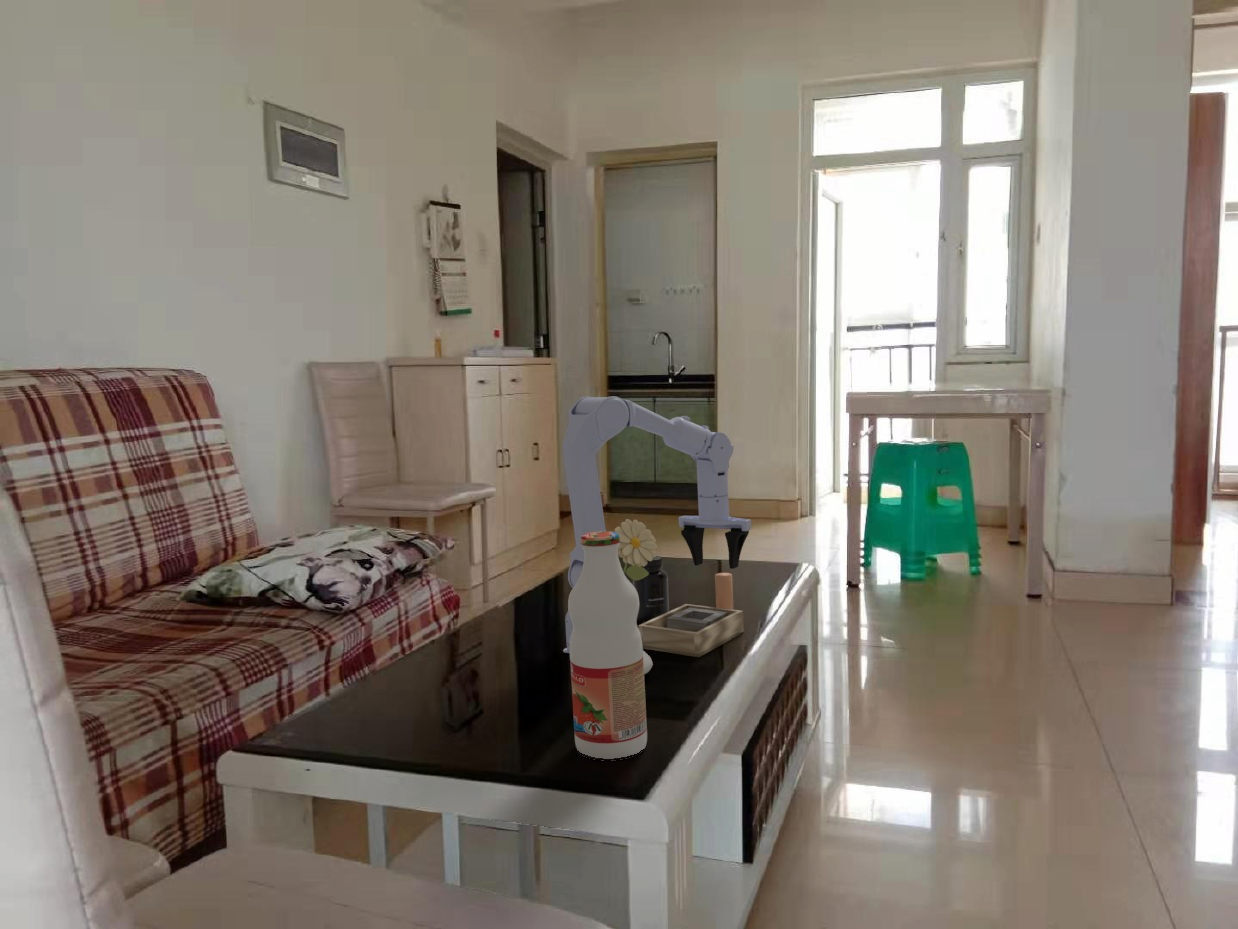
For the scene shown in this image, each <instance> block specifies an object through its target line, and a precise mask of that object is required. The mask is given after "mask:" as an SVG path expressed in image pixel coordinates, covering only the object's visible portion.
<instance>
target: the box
mask: <svg viewBox="0 0 1238 929" xmlns="http://www.w3.org/2000/svg"><path fill="white" fill-rule="evenodd" d="M637 627H638V629H639V631H640V634H641V638H642V645H643V650H644V649H645V650H651V651H657V652H662V653H663V652H664V653H671V654H676V655H681V656H689V657H695V658H700V657H702V656H704V655H706V654H708V653H710V652H711V651H713V650H715V649H716V648H718V647H720V646H722V645H724V644H725V643H728V642H730V641H731V640H733V639H735V638H736V637H738V636H740V635H741V633H742V634H744V633H745V632H744V631H745V630H744V610H739V609H733V610H732V609H724V608H716V606H707V605H700V604H699V605H696V604H691V603H689V604H688V603H684V604H682V605H680V606H678V607H676V608H674V609H672V610H669V612H667V613H665V614H663V615H660V616H658V617H656V618H654V619H652V620H649V621H647V622H642V623H641V624H639V625H638V624H637ZM743 632H744V633H743ZM732 638H733V639H732Z"/></svg>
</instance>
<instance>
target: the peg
mask: <svg viewBox="0 0 1238 929" xmlns="http://www.w3.org/2000/svg"><path fill="white" fill-rule="evenodd" d="M714 580H715V581H714V582H715V583H714V585H715V586H714V587H715V607H716V608H724V609H732V610H734V594H733V593H734V591H733V574H732V573H729V572H719V573H715V574H714Z"/></svg>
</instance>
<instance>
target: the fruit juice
mask: <svg viewBox="0 0 1238 929" xmlns="http://www.w3.org/2000/svg"><path fill="white" fill-rule="evenodd" d="M619 543H620V538H619V534H618V533H616V532H615V531H610V530H609V531H607V530H606V531H601V532H591V533H586V534H583V535H582V536H581V545H582V549H583V550H584V563H583V568H582V573H581V575H580V578H579V580H578V582H577V583H576V585H575V586H574V587H573V588H572V589H571V591H570V593H569V595H568V598H567V599H568V602H567V608H568V610H569V614H570V617H571V620H572V623H573V631H572V634H571V637H570V653H569V662H570V663H569V664H570V665H569V666H570V680H571V681H570V682H571V683H570V684H571V696H572V697H571V699H572V712H573V713H572V715H573V731H574V743H575V749H576V750H577V752H578V751H579V752H580V753H582V754H585V755H588V756H591V757H595V758H603V759H614V758H621V757H627V756H630V755H634V754H637V753H639V752H640V751H641V750H643V749H644V750H645V748H646V746H647V742H648V727H647V709H646V708H647V707H646V689H645V688H646V685H645V674H644V664H643V651H644V648H643V645H642V638H641V634H640V631H639V627H638V624H637V623H638V622H637V621H638V620H637V616H638V612H639V596H638V593H637V591H636V589H635V587H634V586H633V582H631V581H630V580H629V579H628V578H627V576H626V575H625V573H624V572H623V570H624V569H623V568H622V565H621V561H620V556H619V555H618V547H619V546H620V544H619ZM568 610H567V611H568ZM644 750H643V751H644ZM579 752H578V753H579ZM641 752H642V751H641ZM641 752H640V753H641ZM580 753H579V754H580ZM640 753H639V754H640ZM637 755H638V754H637Z"/></svg>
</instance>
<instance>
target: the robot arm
mask: <svg viewBox="0 0 1238 929" xmlns="http://www.w3.org/2000/svg"><path fill="white" fill-rule="evenodd" d="M567 411H568V412H567V416H568V425H567V428H566V431H565V434H564V437H563V438H564V439H563V442H562V454H563V460H564V461H563V463H564V469H565V474H566V475H565V476H566V482H567V489H568V498H569V503H570V511H571V518H572V523H573V524H572V525H573V533H574V540H575V547H574V549H572V550H571V552H570V553H569V560H570V562H569V568H568V571H567V580H568V583H569V585H570V587H571V588H572V589H573V587H574V586H575V585H576V583H577V582H578V580H579V578H580V575H581V573H582V568H583V563H584V550H583V549H582V545H581V536H582V535H583V534H586V533H591V532H601V531H607V530H606V523H605V516H604V509H603V507H604V506H603V501H602V493H601V487H600V477H599V473H598V472H599V471H598V464H597V458H596V455H597V453H598V452H599V451H600V449H601V448H602V447H603V446H604V444H605V443H606V442H608V441H609V440H611V439H612V438H614V437H615V436H616V435H618V434H619V433H621V432H622V431H623V430H625V428H627V427H628V428H629V427H635V428H637V429H640V430H643V431H646V432H648V433H650V434H651V433H652V434H653V435H654V434H655V435H656V436H660V437H662V441H663V443H664V445H666V446H667V447H668V448H671V449H673V450H676V451H678V452H682V453H684V454H686V455H688V456H690V458H692V459H693V460H694V461H695V462H696V477H697V478H696V481H697V506H698V515H681V516H679V517H678V527H679V528H683V529H682V530H680V532H681V534H680V535H681V536H682V537H683V539H684V541H685V543H686V544H687V547H688V549H689V551H690V554H691V557H692V561H693V564H694V566H700V565H702V564H704V563H703V562H704V548H703V544H704V534H705V529H716V530H717V529H718V530H729V531H726V532H724V536H725V539H726V543H727V550H728V565H729V569H730V570H731V569H732V570H733V569H736V568H738V567H739V562H740V558H741V553H742V550H743V547H744V544H745V542H746V539H747V537H748V536H749V532H750V531H751V530H752V519H748V518H741V517H734V516H730V502H729V501H730V500H729V478H728V477H729V476H728V475H729V474H728V470H729V468H730V460H731V458H732V456H733V453H734V445H732V443H731V440H730V439H729V438H730V437H729V438H728V436H727V435H726V434H725V433H723V432H717V431H716V432H715V431H711V430H710V426H708V425H699V424H698V423H697V424H696V423H694V422H692V421H691V417H689V416H687V415H680V416H676V417H672V418H671V419H668V418H666V417H663V416H662V415H660V414H658V413H656V412H653V411H652V410H649V409H648V408H645V407H643V406H641V405H639V404H638V403H636V402H634V401H631V400H629V399H622V398H621V397H618V396H613V395H612V396H608V397H607V396H606V397H605V396H601V397H600V396H599V397H598V396H597V397H596V396H588V395H587V396H582V397H581V398H579V399H578V400H577V401H576V402H575V403H574V404H573V405H572V406H571V407H570V409H569V410H567ZM564 619H565V620H564V621H565V622H564V623H565V639H566V647H565V648H564V649H563V650H562V651H563V653H565V654H570V637H571V634H572V631H573V623H572V620H571V617H570V614H569V610H567V612H566V613H565V617H564Z"/></svg>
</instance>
